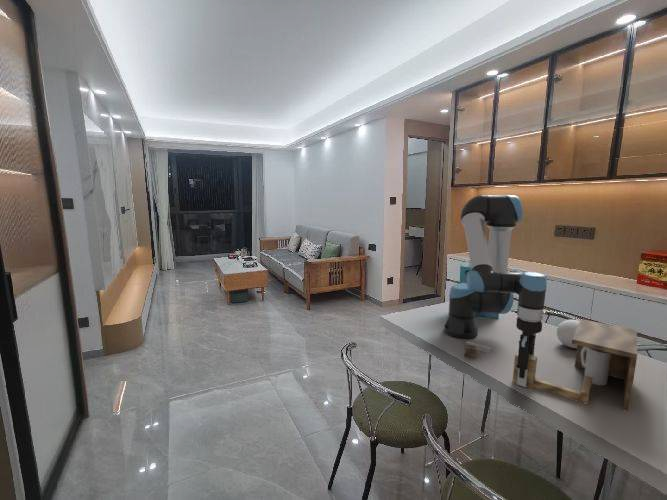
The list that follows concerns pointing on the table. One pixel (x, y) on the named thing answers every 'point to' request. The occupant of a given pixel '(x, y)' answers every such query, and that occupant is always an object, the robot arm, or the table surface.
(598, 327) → the shelf
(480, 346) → the grey stick
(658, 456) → the table surface
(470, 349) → the walnut cube
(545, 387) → the wooden u-shaped rack
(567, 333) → the decorative ball
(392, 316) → the table surface
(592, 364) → the mug
